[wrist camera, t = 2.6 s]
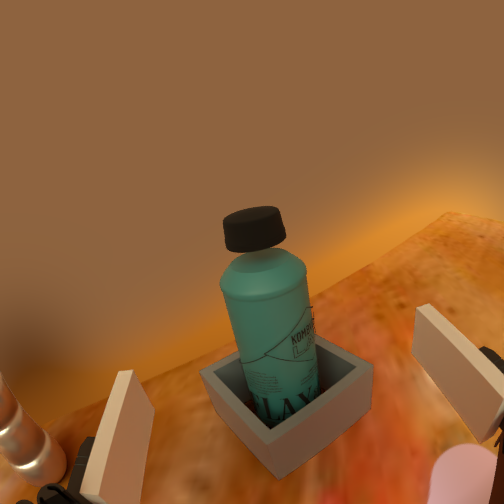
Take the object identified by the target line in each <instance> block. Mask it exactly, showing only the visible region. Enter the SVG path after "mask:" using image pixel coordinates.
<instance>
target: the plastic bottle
mask: <svg viewBox="0 0 504 504" xmlns="http://www.w3.org/2000/svg"><path fill="white" fill-rule="evenodd" d="M0 452H1V454H2V455H3V456H4V457H5V458H6V460H7V461H8V463H9V464H10V465H11V467H12V468H13V469H14V471H15V472H16V473H17V474H18V475H19V476H20V477H21V478H22V479H23V480H25V481H26V482H28V483H30V484H31V485H33V486H36V487H43V486H45V485H46V484H49V483H58V482H59V481H60V480H61V479H62V478H63V476H64V474H65V472H66V469H67V460H66V455H65V452H64V451H63V449H62V448H61V446H60V445H59V443H58V442H57V441H56V440H55V439H54V438H53V437H52V436H51V435H50V434H48V433H47V432H46V431H45V430H43V429H42V428H40V427H39V425H37V423H36V422H35V421H34V420H33V419H32V418H31V417H30V416H29V415H28V414H27V413H26V412H25V411H24V410H23V408H22V407H21V405H20V404H19V402H18V401H17V400H16V398H15V396H14V395H13V393H12V392H11V390H10V389H9V387H8V385H7V383H6V382H5V380H4V377H3V375H2V373H1V371H0Z"/></svg>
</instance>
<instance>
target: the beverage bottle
mask: <svg viewBox="0 0 504 504" xmlns="http://www.w3.org/2000/svg"><path fill="white" fill-rule="evenodd" d="M223 228H224V234H225V244H226V248H227V249H228V250H229V251H231V252H237V253H245V254H243V255H241V256H239V257H237V258H236V259H234V260H233V261H232V262H231V264H230V265H229V266H228V268H227V269H226V270H225V272H224V273H223V275H222V277H221V279H220V288H221V290H222V292H223V295H224V299H225V303H226V306H227V310H228V314H229V317H230V321H231V325H232V329H233V332H234V335H235V339H236V343H237V347H238V350H239V355H240V360H241V364H242V366H243V370H244V371H243V373H245V377H246V381H247V383H248V387H249V391H250V394H251V397H252V399H250V400H251V401H252V400H253V404H254V407H255V411H256V413H257V415H258V417H259V418H260V419H261V421H263V422H264V423H265V424H267V425H268V426H270V427H273V428H274V427H276V426H277V425H279V424H280V423H282V422H283V421H285V420H286V419H288V418H289V417H291V416H292V415H294V414H295V413H296V412H298V411H299V410H301V409H302V408H304V407H305V406H306V405H308V404H309V403H311V402H312V401H313V400H315V399H316V398H317V397H319V396H320V395H321V385H320V382H321V379H320V375H318V374H319V372H318V370H319V369H320V368H319V369H318V366H317V365H318V363H319V362H317V357H316V348H315V339H314V338H315V337H316V336H314V330H315V329H313V323H314V322H315V321H314V318H312V313H311V308H312V307H313V306H312V307H311V306H310V301H309V293H308V285H307V277H306V274H307V270H306V266H305V264H304V263H303V262H302V260H300V259H299V258H298V257H296V256H295V255H293V254H291V253H289V252H288V251H286V250H284V249H280V248H270V247H273V246H275V245H277V244H279V243H281V242H282V241H283V240H284V239H285V238H286V232H285V227H284V225H283V222H282V218H281V214H280V211H279V209H278V208H276V207H273V206H261V207H253V208H248V209H244V210H240V211H237V212H235V213H232V214H230V215H228V216H227V217H225V218H224V220H223ZM313 314H314V312H313ZM313 317H314V315H313ZM314 326H315V325H314ZM314 328H315V327H314ZM315 332H316V331H315ZM315 334H316V333H315ZM316 342H317V341H316ZM240 360H239V361H240ZM239 363H240V362H239ZM318 376H319V377H318ZM246 386H247V385H246ZM319 386H320V387H319ZM249 391H248V392H249ZM251 403H252V402H251Z"/></svg>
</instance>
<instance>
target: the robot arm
mask: <svg viewBox="0 0 504 504" xmlns="http://www.w3.org/2000/svg"><path fill="white" fill-rule="evenodd" d="M411 353H412V354H413V355H414V357H415V358H416V359H417V361H418V362H419V363H420V364H421V366H422V367H423V368H424V369H425V371H426V372H427V373H428V374H429V376H430V377H431V378H432V380H433V381H434V382H435V384H436V385H437V386H438V387H439V389H440V390H441V391H442V393H443V394H444V395H445V397H446V398H447V399H448V401H449V402H450V403H451V405H452V406H453V407H454V409H455V410H456V411H457V413H458V414H459V415H460V417H461V418H462V420H463V421H464V422H465V424H466V425H467V426H468V428H469V429H470V431H471V432H472V433H473V435H474V436H475V438H476V439H477V440H478V442H479V443H480V444H481V443H483V442H485V441H486V440H488V439H489V438H491V437H492V436H494V434H495V433H496V431H497V429H498V427H500V428H501V430H502V432H501V434H500V436H499V437H498V439H497V441H496V442H495V445H494V447H496V446H497V445H498V443H499V442H500V444H499V452H498V459H497V466H496V471H495V477H494V482H493V487H492V492H491V496H490V501H489V504H504V360H503V359H501V357H500V356H499V355H498V354H497V353H496V352H494V351H493V350H491V349H489V348H487V347H485V346H483V347H481V348H480V349H478V348H477V347H476V346H475V345H474V344H472V343H471V342H470V341H469V340H468V339H467V338H466V337H465V336H464V335H463V334H462V333H461V332H460V331H459V330H458V329H457V328H456V327H455V326H453V325H452V324H451V323H450V322H449V321H448V320H447V319H446V318H445V317H444V316H443V315H442V314H440V313H439V312H438V311H437V310H436V309H435V308H434V307H433V306H432V305H430V304H429V303H428V304H425V305H422V306H419V307H416V314H415V325H414V335H413V344H412V352H411ZM154 413H155V409H154V407H153V406H152V404H151V402H150V400H149V399H148V397H147V395H146V393H145V391H144V389H143V388H142V386H141V384H140V382H139V380H138V378H137V376H136V374H135V372H134V370H128V371H119V372H118V375H117V377H116V380H115V383H114V386H113V388H112V391H111V394H110V397H109V399H108V402H107V405H106V408H105V411H104V414H103V417H102V420H101V423H100V426H99V429H98V432H97V435H96V437H87V438H86V439H85V441H84V442H83V443H82V445H81V446H80V449H79V452H78V455H77V456H78V457H77V458H76V461H75V465H74V467H73V470H72V474H71V477H70V480H69V483H68V487H67V490H65V489H64V488H63V487H62V486H61V485H59V484H57V483H49V484H46V485H45V486H43V487H42V488H41V489H40V491H39V492H38V495H37V503H38V504H140V498H141V491H142V484H143V477H144V471H145V464H146V458H147V452H148V446H149V440H150V435H151V429H152V423H153V418H154ZM16 504H33V503H32V502H30V501H28V500H20V501H18V502H17V503H16Z"/></svg>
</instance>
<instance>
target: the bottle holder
mask: <svg viewBox="0 0 504 504" xmlns="http://www.w3.org/2000/svg"><path fill="white" fill-rule="evenodd" d="M314 336H316V337H315V338H314V339H315V348H316V357H317V362H319V363H318V365H317V366H318V369H319V368H320V369H319V370H318V372H319V374H318V375H320V379H321V382H320V385H321V388H323V389H324V390H326V392H324V393H323V394H322V395H320V396H319V397H317V398H316V399H315V400H313V401H312V402H311V403H309V404H308V405H306V406H305V407H304V408H302V409H301V410H299V411H298V412H296V413H295V414H294V415H292V416H291V417H289V418H288V419H286V420H285V421H283V422H282V423H280V424H279V425H277V426H276V427H274V428H273V429H271V430H270V429H269V428H268V427H267V426H266V425H265V424H264V423H262V422H261V421H260V420H259V419H258V418H257V417H256V416H255V415H254V414H253V413H252V412H251V411H250V410H249V409H248V408H247V407H246V406H245V405H244V403H246V402H248V401H249V400H250V399H252V397H251V394H250V391H249V387H248V383H247V381H246V377H245V373H243V371H244V370H243V366H242V364H241V360H240V355H239V350H238V351H236V352H235V353H233V354H231V355H229V356H227V357H225V358H223V359H221V360H220V361H218V362H216V363H214V364H212V365H210V366H208V367H206V368H204V369H202V370H200V371H199V373H200V375H201V377H202V380H203V382H204V385H205V387H206V390H207V392H208V394H209V397H210V399H211V401H212V404H213V406H214V408H215V410H216V412H217V413H218V414H219V416H220V417H221V418H222V419H223V420H224V422H225V423H226V424H227V425H228V426H229V427H230V429H231V430H232V431H233V432H234V433H235V434H236V435H237V437H238V438H239V439H240V440H241V441H242V442H243V443H244V444H245V446H246V447H247V448H248V449H249V450H250V451H251V452H252V453H253V454H254V455H255V456H256V457H257V459H258V460H259V461H260V462H261V463H262V464H263V465H264V466H265V467H266V468H267V469H268V470H269V471H270V472H271V473H272V474H273V475H274V476H275V477H276V478H277V479H278V480H280V479H282V478H283V477H285V476H286V475H288V474H289V473H291V472H292V471H294V470H295V469H297V468H298V467H299V466H301V465H302V464H304V463H305V462H306V461H308V460H309V459H310V458H312V457H313V456H315V455H316V454H317V453H318V452H320V451H321V450H322V449H324V448H325V447H326V446H328V445H329V444H330V443H331V442H333V441H334V440H335V439H336V438H338V437H339V436H340V435H341V434H342V433H344V432H345V431H346V430H347V429H348V428H350V427H351V426H352V425H353V424H354V423H355V422H357V421H358V420H359V419H360V418H361V417H362V416H363V415H364V414H366V413H367V412H368V411H369V410H370V409H371V398H372V384H373V364H371V363H369V362H367V361H365V360H363V359H361V358H359V357H357V356H355V355H353V354H352V353H350V352H348V351H346V350H344V349H342V348H340V347H338V346H337V345H335V344H333V343H331V342H329V341H327V340H325V339H324V338H322V337H320V336H318V335H316V334H314ZM316 341H317V342H316ZM239 360H240V361H239ZM239 362H240V363H239ZM318 377H319V376H318ZM246 385H247V386H246ZM248 391H249V392H248Z"/></svg>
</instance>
